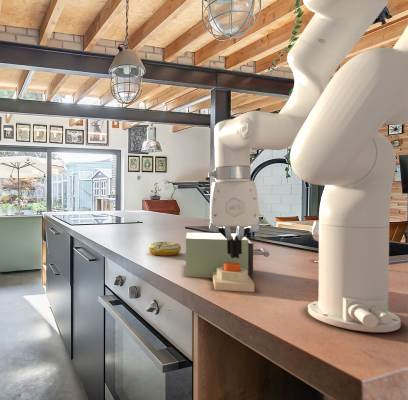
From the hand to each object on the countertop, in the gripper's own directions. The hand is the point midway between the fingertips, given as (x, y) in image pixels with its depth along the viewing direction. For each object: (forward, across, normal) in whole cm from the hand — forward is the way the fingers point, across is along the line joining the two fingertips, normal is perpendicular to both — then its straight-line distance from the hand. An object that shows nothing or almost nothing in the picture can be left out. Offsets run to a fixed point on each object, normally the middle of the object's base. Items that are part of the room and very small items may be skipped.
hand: (234, 257), depth 79 cm
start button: (+3, -1, +1) cm, 3 cm away
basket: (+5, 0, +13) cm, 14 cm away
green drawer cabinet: (+6, -4, +13) cm, 14 cm away
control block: (+6, -1, +1) cm, 7 cm away
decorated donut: (+6, -19, +38) cm, 42 cm away
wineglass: (+7, +28, +33) cm, 44 cm away
